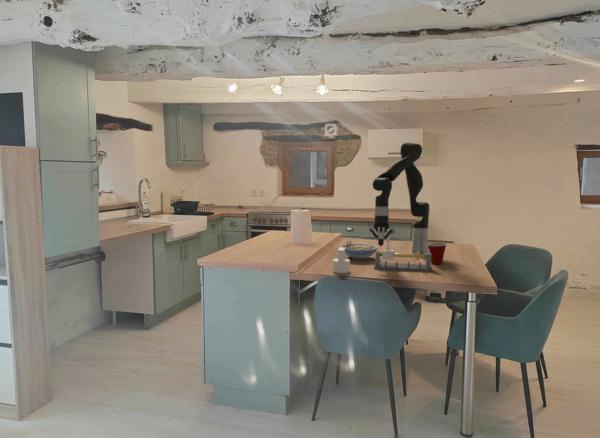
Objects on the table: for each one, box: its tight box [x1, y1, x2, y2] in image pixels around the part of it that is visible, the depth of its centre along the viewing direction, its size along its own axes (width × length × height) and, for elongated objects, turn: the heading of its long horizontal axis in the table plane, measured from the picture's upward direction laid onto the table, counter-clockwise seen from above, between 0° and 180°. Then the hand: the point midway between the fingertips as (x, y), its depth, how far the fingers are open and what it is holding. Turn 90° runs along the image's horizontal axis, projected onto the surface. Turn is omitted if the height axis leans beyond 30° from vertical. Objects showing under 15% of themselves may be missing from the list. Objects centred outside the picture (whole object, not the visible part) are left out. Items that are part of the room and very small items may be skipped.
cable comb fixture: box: [373, 250, 433, 273], centre depth 244 cm, size 30×12×9 cm, turn 77°
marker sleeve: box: [381, 237, 395, 261], centre depth 245 cm, size 6×5×12 cm
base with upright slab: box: [332, 246, 351, 274], centre depth 237 cm, size 9×9×12 cm
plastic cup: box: [427, 241, 448, 266], centre depth 255 cm, size 11×11×12 cm
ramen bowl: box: [339, 241, 379, 260], centre depth 270 cm, size 25×23×8 cm
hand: (380, 245), depth 246 cm, fingers closed
